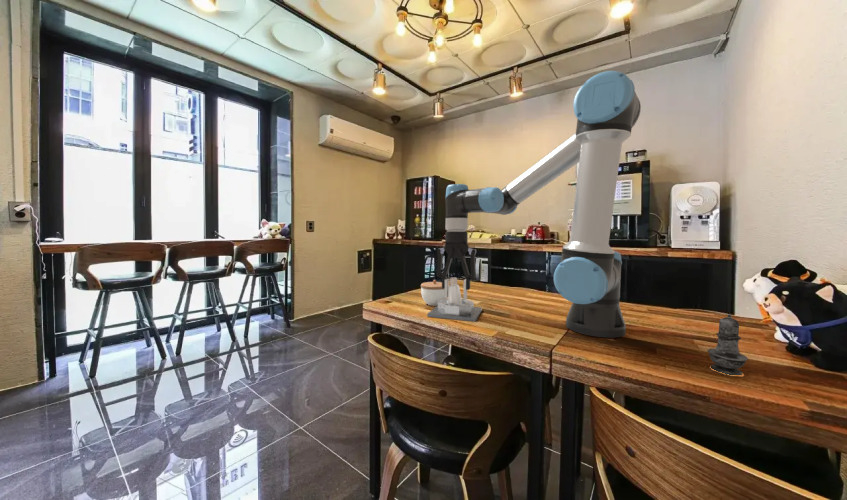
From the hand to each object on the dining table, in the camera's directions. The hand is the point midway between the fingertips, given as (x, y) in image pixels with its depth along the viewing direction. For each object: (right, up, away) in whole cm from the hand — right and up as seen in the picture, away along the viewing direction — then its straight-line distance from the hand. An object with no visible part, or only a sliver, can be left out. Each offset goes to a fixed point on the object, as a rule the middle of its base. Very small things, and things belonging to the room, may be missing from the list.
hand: (455, 298), depth 105 cm
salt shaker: (0, -4, 0) cm, 4 cm away
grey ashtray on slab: (0, -5, 0) cm, 5 cm away
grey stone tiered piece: (+51, -8, -42) cm, 67 cm away
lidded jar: (-7, -5, +14) cm, 17 cm away
